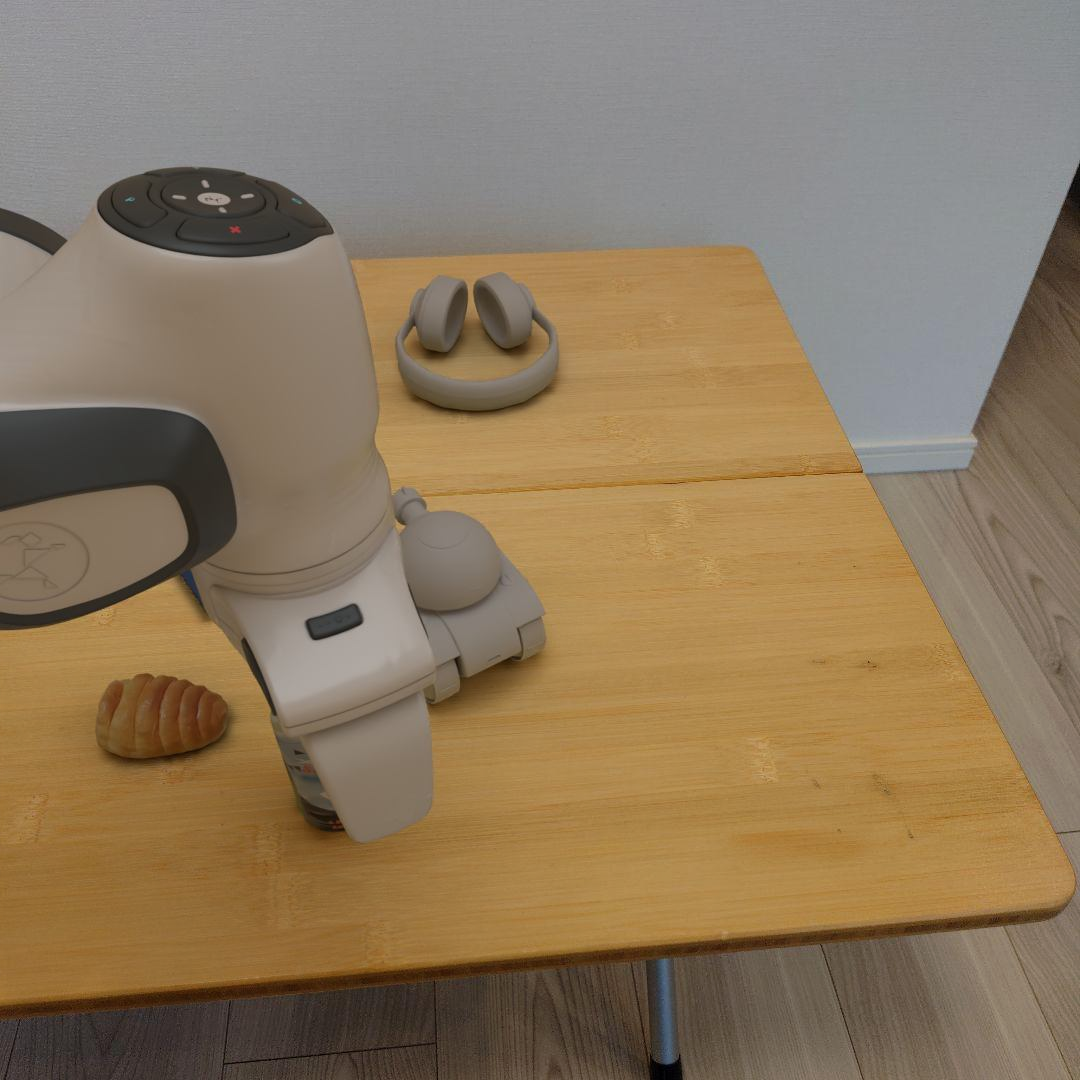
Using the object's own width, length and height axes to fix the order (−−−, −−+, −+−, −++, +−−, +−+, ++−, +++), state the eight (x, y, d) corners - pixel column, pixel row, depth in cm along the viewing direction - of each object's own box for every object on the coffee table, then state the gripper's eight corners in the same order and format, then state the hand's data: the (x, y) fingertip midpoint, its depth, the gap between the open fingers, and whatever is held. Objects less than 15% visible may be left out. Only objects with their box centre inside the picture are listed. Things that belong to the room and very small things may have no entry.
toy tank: (356, 604, 83) (336, 494, 74) (461, 558, 87) (454, 448, 78) (437, 725, 74) (426, 617, 65) (550, 668, 78) (554, 559, 69)
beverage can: (328, 858, 66) (300, 764, 58) (277, 786, 70) (244, 688, 62) (404, 807, 69) (387, 711, 61) (351, 741, 73) (328, 641, 65)
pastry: (240, 691, 76) (229, 662, 74) (220, 765, 72) (208, 736, 69) (123, 690, 76) (108, 661, 74) (95, 763, 71) (78, 735, 69)
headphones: (395, 315, 116) (401, 433, 104) (389, 261, 110) (394, 380, 97) (544, 307, 118) (567, 422, 106) (546, 254, 111) (571, 369, 99)
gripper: (173, 434, 47) (232, 617, 57) (291, 752, 34) (343, 919, 44) (297, 401, 49) (334, 583, 59) (453, 689, 36) (468, 861, 46)
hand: (339, 729), depth 51 cm, fingers open, 6 cm apart
